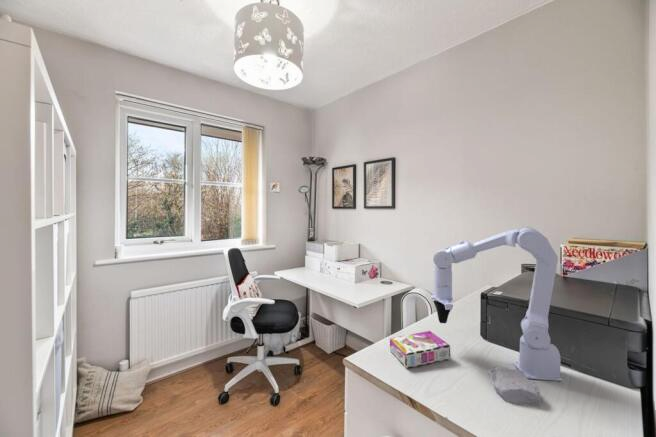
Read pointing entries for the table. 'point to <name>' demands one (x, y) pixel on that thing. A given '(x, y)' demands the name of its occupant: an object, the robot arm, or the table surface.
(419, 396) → the table surface
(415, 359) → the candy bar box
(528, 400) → the stone block
